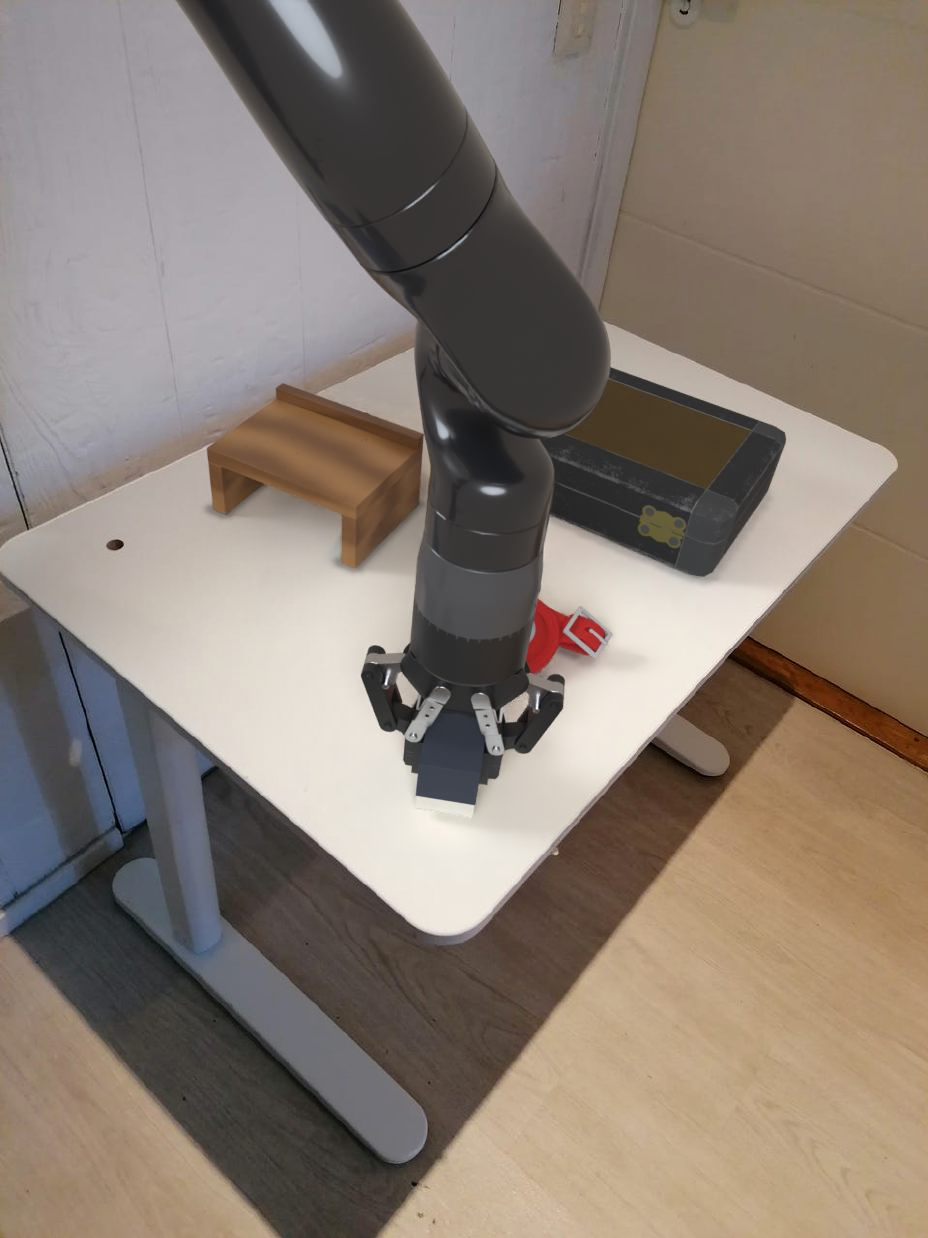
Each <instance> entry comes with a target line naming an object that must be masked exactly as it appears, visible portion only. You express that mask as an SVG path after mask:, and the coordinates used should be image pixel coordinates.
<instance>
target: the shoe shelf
mask: <svg viewBox="0 0 928 1238" xmlns="http://www.w3.org/2000/svg"><path fill="white" fill-rule="evenodd" d="M424 440H425V436H424V432H423V433H422V432H420V431H417V430H414V429H411V428H410V427H407V426H403V425H401V424H398V423H395V422H392V421H391V420H386V419H384V418H381V417H378V416H375V415H373V414H370V413H368V412H364V411H361V410H359V409H356V408H353V407H351V406H348V405H345V404H342V403H339V402H337V401H333V400H331V399H328V398H325V397H323V396H320V395H318V394H317V395H316V394H314V393H311V392H310V391H309V392H308V391H306V390H303V389H301V388H298V387H296V386H292V385H289V384H287V383H284V382H282V383H280V384H279V385H277V386H276V387H275V399H273V400H272V401H270V402H269V403H267V405H265V406H263V407H262V408H260V410H258V411H257V412H255V413H254V414H252V415H251V416H250V417H248V418H247V419H245V420H243V421H242V422H241V423H240V424H238V425H237V426H235V427H234V428H232V429H231V430H230V431H228V432H226V433H225V434H224V435H222V436H221V437H219V438H218V439H217V440H215V441H214V442H213V443H212V444H210V445H208V446H207V447H206V455H207V463H208V464H207V465H208V473H209V474H208V475H209V482H210V492H211V493H210V494H211V502H212V503H211V504H212V511H215V512H218V513H220V514H223V515H227V514H228V513H230V512H231V511H232V510H234V508H236V507H237V506H238V505H240V504H241V503H242V502H243V501H245V500H246V499H247V498H249V496H251V495H252V494H253V493H255V492H257V490H258V489H259V488H261V487H262V486H264V485H266V486H269V487H272V488H274V489H276V490H279V491H281V492H284V493H287V494H289V495H292V496H294V497H297V498H300V499H302V500H304V501H307V502H309V503H311V504H314V505H317V506H319V507H322V508H324V509H327V510H329V511H332V512H334V513H337V514H339V515H341V560H340V561H341V564H343V565H345V566H347V567H350V568H352V569H357V567H358V566H359V565H360V564H361V563H363V561H364V560H365V559H366V558H367V557H368V556H369V555H371V554H372V552H373V551H374V550H375V549H376V548H378V546H379V545H381V543H382V542H383V541H384V540H385V539H386V538H387V537H388V536H389V535H390V534H391V533H392V532H393V531H394V530H395V529H396V528H397V527H398V526H399V525H400V524H401V523H402V522H403V521H404V520H405V519H406V518H407V517H408V516H409V515H410V514H411V513H412V512H413V511H414V510H415V509H416V508H417V507H419V505H420V495H421V479H422V469H423V468H422V467H423V452H424Z"/></svg>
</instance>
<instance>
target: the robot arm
mask: <svg viewBox="0 0 928 1238" xmlns="http://www.w3.org/2000/svg"><path fill="white" fill-rule="evenodd" d="M175 2H176V3H177V4H178V7H179V8H180V9H181V11H182V12H183V13H184V15H185V16H186V18H187V19H188V20H189V22H190V24H191V25H192V27H193V29H194V31H196V33H197V35H198V36H199V37H200V39H201V41H202V42H203V43H204V45H205V47H206V48H207V49H208V51H209V53H210V55H211V56H212V57H213V59H214V61H215V62H216V64H217V65H218V66H219V68H220V70H221V72H222V73H223V74H224V76H225V78H226V79H227V80H228V83H229V84H230V85H231V87H232V88H233V90H234V91H235V93H236V95H237V96H238V98H239V100H240V101H241V103H242V104H243V106H244V107H245V109H246V110H247V112H248V113H249V115H250V116H251V119H252V120H253V121H254V122H255V124H256V125H257V127H258V128H259V130H260V132H261V133H262V135H263V136H264V138H265V139H266V141H267V142H268V143H269V145H270V146H271V148H272V149H273V151H274V152H275V154H276V155H277V157H278V158H279V159H280V161H281V162H282V164H283V165H284V167H285V168H286V170H287V171H288V172H289V174H290V175H291V177H292V178H293V179H294V181H295V182H296V183H297V185H298V186H299V187H300V189H301V190H302V191H303V193H304V194H305V195H306V197H307V198H308V200H309V201H310V202H311V204H312V205H313V206H314V208H315V209H316V210H317V212H318V213H319V214H320V215H321V216H322V218H323V219H324V220H325V222H326V223H327V224H328V225H329V227H330V228H331V229H332V230H333V232H334V233H335V234H336V236H337V237H338V238H339V239H340V241H341V242H342V243H343V244H344V246H345V247H346V248H347V250H348V251H349V252H350V254H351V255H352V256H353V257H354V259H355V260H356V261H357V262H358V264H359V265H360V267H361V268H362V269H363V270H364V271H365V272H366V274H368V276H369V277H370V278H371V279H372V280H373V281H374V282H375V283H376V284H377V285H378V286H379V287H380V288H381V289H382V290H383V291H384V292H385V293H387V295H388V296H389V297H390V298H392V299H393V300H395V301H396V302H397V303H398V304H399V305H400V306H401V307H402V308H404V309H405V310H406V311H407V312H408V313H410V314H411V315H412V316H413V317H414V318H415V319H416V321H415V322H416V323H415V329H414V344H413V345H414V347H413V355H414V356H413V357H414V358H413V359H414V369H415V377H416V378H415V379H416V387H417V395H418V400H419V401H418V402H419V408H420V409H419V410H420V416H421V423H422V430H423V434H424V441H425V445H426V450H427V455H428V460H429V469H430V470H429V477H428V485H427V495H426V496H427V497H426V506H425V507H426V509H425V518H424V528H423V532H422V534H423V535H422V538H421V542H420V545H419V548H418V549H419V550H418V555H417V558H416V559H417V561H416V567H415V568H416V569H415V581H414V593H413V605H412V615H411V628H410V639H409V643H408V644H407V645H406V646H405V647H404V648H403V651H402V652H391V653H387V652H386V649H384V647H382V646H381V645H378V644H374V645H373V644H372V645H371V646H369V647H368V649H367V651H366V655H365V658H364V662H363V666H362V670H361V673H360V678H361V681H362V684H363V686H364V689H365V692H366V694H367V697H368V700H369V702H370V705H371V707H372V710H373V713H374V716H375V718H376V721H377V723H378V726H379V728H380V729H381V731H383V732H387V733H392V732H395V731H398V732H399V733H401V734H402V735H403V736H404V744H403V755H402V756H403V757H402V761H403V763H404V765H405V766H410V767H411V770H410V773H411V774H415V775H418V768H419V761H420V756H421V751H422V746H423V741H424V736H425V732H426V731H427V729H428V727H431V726H432V724H433V722H434V721H435V719H436V717H437V716H438V714H439V713H446V714H457V713H458V714H462V715H465V716H468V717H471V718H477V720H478V724H479V728H480V732H481V735H482V736H484V738H485V746H484V754H483V761H482V768H481V775H480V780H479V785H483V786H488V784H489V780H496V779H497V778H498V777H499V776H500V771H501V766H502V761H503V756H504V754H505V752H506V751H509V750H514V751H515V752H516V753H517V754H521V755H526V754H529V753H531V752H532V750H533V749H534V748H535V747H536V745H537V744H538V742H539V741H540V740H541V739H542V737H543V736H544V735H545V733H546V732H547V731H548V729H549V728H550V727H551V725H553V723H554V722H555V720H556V719H557V718H558V716H559V715H560V713H561V712H562V711H563V710H564V704H565V703H564V702H565V692H566V691H565V690H566V688H565V687H566V680H565V677H564V676H563V675H561V674H558V673H553V674H550V675H548V676H547V677H546V678H544V677H543V676H540V675H538V674H536V673H535V674H532V673H530V667H529V665H528V663H527V661H526V656H527V651H528V646H529V641H530V636H531V631H532V626H533V621H534V616H535V611H536V606H537V601H538V599H539V595H540V592H541V590H542V579H543V573H544V550H545V542H546V538H547V533H548V527H549V523H550V517H551V515H550V513H551V508H552V502H553V496H554V489H555V468H554V465H553V462H552V459H551V457H550V455H549V453H548V451H547V449H546V448H545V446H544V445H543V443H542V442H541V440H540V439H544V438H551V437H556V436H559V435H562V434H564V433H567V432H569V431H571V430H572V429H574V428H575V427H577V426H578V425H580V424H581V423H582V422H583V421H585V420H586V419H587V417H588V416H589V415H590V414H591V413H592V412H593V411H594V409H595V408H596V406H597V405H598V403H599V402H600V400H601V398H602V396H603V394H604V391H605V389H606V386H607V382H608V378H609V374H610V367H611V364H612V363H611V362H612V354H611V353H612V352H611V345H610V344H611V343H610V337H609V334H608V331H607V327H606V324H605V321H604V319H603V317H602V315H601V313H600V311H599V310H598V307H597V306H596V304H595V303H594V301H593V299H592V298H591V295H589V293H588V292H587V290H586V289H585V288H584V286H583V285H582V283H581V282H580V281H579V279H578V278H577V276H576V275H575V274H574V272H572V270H571V269H570V268H569V266H568V265H567V264H566V262H565V261H564V260H563V258H562V257H561V256H560V255H559V253H558V251H556V250H555V248H554V247H553V245H552V244H551V243H550V242H549V240H548V239H547V238H546V236H545V234H544V233H542V232H541V230H540V229H539V228H538V227H537V226H536V225H535V224H534V222H533V221H532V220H531V219H530V218H529V217H528V215H527V214H526V213H525V211H524V210H523V209H522V208H521V206H520V205H519V203H518V201H517V200H516V199H515V197H514V196H513V194H512V193H511V190H510V189H509V188H508V186H507V184H506V182H505V180H504V177H503V175H502V173H501V171H500V169H499V166H498V164H497V162H496V160H495V159H494V157H493V155H492V153H491V151H490V150H489V148H488V146H487V144H486V143H485V140H484V139H483V136H482V135H481V133H480V131H479V130H478V128H477V126H476V124H475V122H474V121H473V119H472V116H471V115H470V113H469V111H468V110H467V108H466V106H465V104H464V102H463V100H462V98H461V97H460V95H459V94H458V92H457V90H456V88H455V86H454V85H453V83H452V82H451V80H450V78H449V76H448V75H447V72H445V69H444V68H443V66H442V64H441V63H440V61H439V59H438V57H437V56H436V55H435V53H434V52H433V50H432V47H431V46H430V45H429V43H428V42H427V39H426V38H425V36H423V34H422V32H421V31H420V29H419V27H418V26H417V24H416V22H415V21H414V20H413V18H412V16H411V15H410V14H409V12H408V11H407V9H406V7H405V6H404V5H403V3H402V2H401V1H400V0H175ZM400 673H402V675H403V676H404V677H405V678H406V679H407V682H408V683H409V684H410V685H411V686H412V687H413V689H414V690H415V691H416V692H417V693H418V694H417V696H416V698H415V699H414V701H413V703H412V705H411V706H409V705H406V704H404V703H403V698H402V696H401V695H402V694H401V693H400V689H399V685H398V683H397V679H398V675H399V674H400ZM524 693H526V694H527V695H528V698H527V699H528V701H527V702H528V703H527V705H526V707H525V708H524V710H523V711H522V713H521V714H520V716H518V718H517V720H516V721H508V719H507V715H506V710H505V706H507V705H508V704H509V703H511V702H512V701H514V700H515V699H518V697H520V696H522V695H523V694H524Z"/></svg>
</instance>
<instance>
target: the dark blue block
mask: <svg viewBox="0 0 928 1238" xmlns="http://www.w3.org/2000/svg"><path fill="white" fill-rule="evenodd" d="M484 746H485V738H484V736H482V735H481V732H480V728H479V724H478V720H477V718H471V717H468V716H465V715H462V714H458V713H457V714H446V713H439V714H438V716H437V717H436V719H435V721H434V722H433V724H432V726H431V727H428V729H427V731H426V732H425V736H424V741H423V746H422V751H421V756H420V761H419V768H418V774H417V776H416V777H417V778H416V787H415V798H414V806H413V807H414V808H413V809H415V810H421V811H427V812H433V813H439V814H445V815H452V816H456V817H457V816H458V817H463V818H469V819H473V818H474V814H475V808H476V804H477V797H478V790H479V785H480V784H479V780H480V775H481V768H482V761H483V754H484Z"/></svg>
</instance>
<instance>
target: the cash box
mask: <svg viewBox="0 0 928 1238" xmlns="http://www.w3.org/2000/svg"><path fill="white" fill-rule="evenodd" d="M540 440H541V442H542V443H543V445H544V446H545V448H546V449H547V451H548V453H549V455H550V457H551V459H552V462H553V465H554V468H555V489H554V496H553V502H552V508H551V513H550V516H552V517H554V518H556V519H559V520H561V521H563V522H566V523H569V524H571V525H573V526H575V527H578V528H581V529H583V530H585V531H587V532H589V533H592V534H594V535H597V536H599V537H601V538H605V539H606V540H609V541H611V542H613V543H615V544H618V545H621V546H623V547H625V548H627V549H629V550H632V551H634V552H637V553H639V554H641V555H644V556H646V557H648V558H651V559H654V560H656V561H658V562H661V563H663V564H664V565H667V566H669V567H672V568H675V569H677V570H679V571H682V572H684V573H687V574H689V575H692V576H697V577H706V576H707V575H710V574H712V573H713V572H714V571H715V570H716V568H717V567H718V565H719V563H720V562H721V561H722V559H723V557H724V556H725V555H726V554H727V552H728V551H729V549H730V547H731V546H732V545H733V543H734V542H735V540H736V539H737V537H738V536H739V534H740V533H741V532H742V530H743V528H744V527H745V526H746V525H747V523H748V522H749V520H750V519H751V517H752V515H753V514H754V512H755V511H756V509H757V508H758V507H759V505H760V504H761V502H762V500H763V499H764V498H765V496H766V495H767V494H768V492H769V489H770V487H771V484H772V481H773V479H774V476H775V473H776V470H777V467H778V465H779V462H780V460H781V456H782V454H783V451H784V448H785V446H786V443H787V436H786V432H785V431H783V430H781V429H780V428H778V427H777V426H775V425H773V424H770V423H767V422H764V421H762V420H759V419H756V418H754V417H750V416H748V415H745V414H743V413H740V412H737V411H735V410H731V409H728V408H725V407H723V406H721V405H718V404H714V403H712V402H709V401H706V400H703V399H701V398H698V397H696V396H692V395H689V394H686V393H684V392H681V391H678V390H675V389H673V388H670V387H667V386H664V385H662V384H659V383H656V382H654V381H650V380H649V379H645V378H642V377H640V376H636V375H634V374H631V373H628V372H625V371H623V370H620V369H617V368H614V367H612V366H610V374H609V378H608V382H607V386H606V389H605V391H604V394H603V396H602V398H601V400H600V402H599V403H598V405H597V406H596V408H595V409H594V411H593V412H592V413H591V414H590V415H589V416H588V417H587V419H586V420H585V421H583V422H582V423H581V424H580V425H578V426H577V427H575V428H574V429H572V430H571V431H569V432H567V433H564V434H562V435H559V436H556V437H551V438H544V439H540Z"/></svg>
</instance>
